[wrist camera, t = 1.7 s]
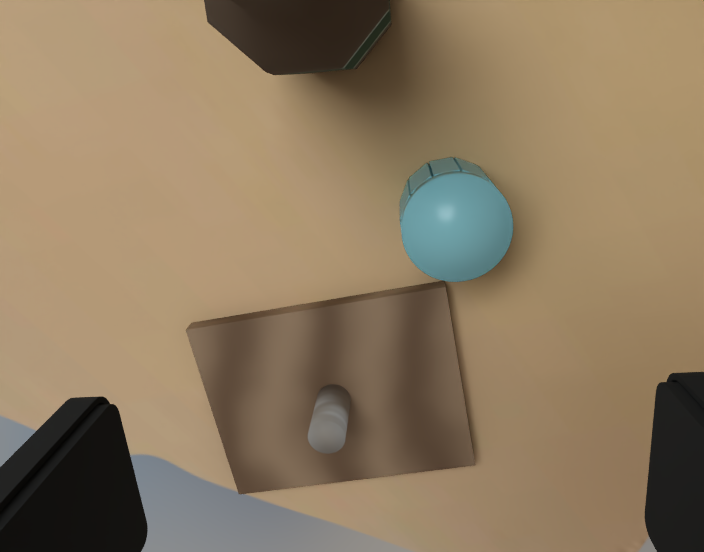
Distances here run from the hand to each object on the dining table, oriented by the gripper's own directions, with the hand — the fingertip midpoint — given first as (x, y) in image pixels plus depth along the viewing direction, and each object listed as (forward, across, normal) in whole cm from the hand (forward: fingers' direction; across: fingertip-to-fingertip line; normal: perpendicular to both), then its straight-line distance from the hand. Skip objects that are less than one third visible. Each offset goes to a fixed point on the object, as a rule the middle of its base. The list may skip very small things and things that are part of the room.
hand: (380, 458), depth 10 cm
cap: (+29, -3, +2) cm, 29 cm away
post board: (+29, +5, +15) cm, 33 cm away
